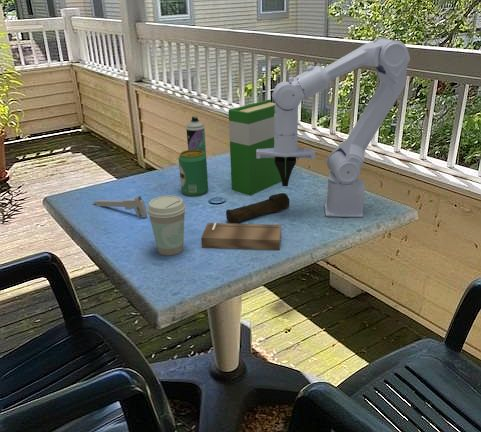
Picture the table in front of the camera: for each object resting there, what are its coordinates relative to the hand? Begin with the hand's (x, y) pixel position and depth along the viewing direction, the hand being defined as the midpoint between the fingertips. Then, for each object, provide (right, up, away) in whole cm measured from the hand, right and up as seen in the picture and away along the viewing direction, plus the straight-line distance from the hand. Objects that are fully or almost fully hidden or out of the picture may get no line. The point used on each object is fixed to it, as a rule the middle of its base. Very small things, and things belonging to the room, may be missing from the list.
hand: (285, 185), depth 124 cm
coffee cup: (-28, -16, -12) cm, 34 cm away
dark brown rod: (-7, -8, +4) cm, 11 cm away
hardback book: (-5, +2, +24) cm, 25 cm away
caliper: (-45, -7, +10) cm, 47 cm away
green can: (-25, -1, +21) cm, 32 cm away
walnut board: (-11, -14, -9) cm, 20 cm away
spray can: (-25, +4, +31) cm, 39 cm away
